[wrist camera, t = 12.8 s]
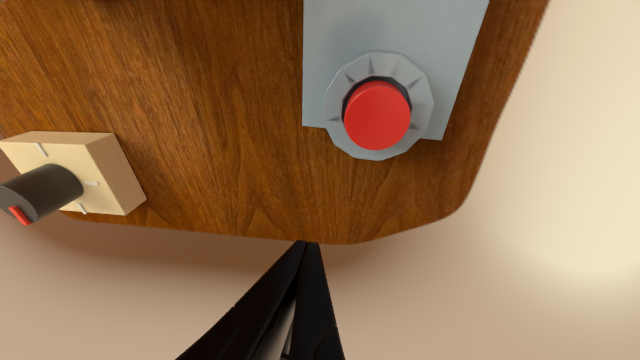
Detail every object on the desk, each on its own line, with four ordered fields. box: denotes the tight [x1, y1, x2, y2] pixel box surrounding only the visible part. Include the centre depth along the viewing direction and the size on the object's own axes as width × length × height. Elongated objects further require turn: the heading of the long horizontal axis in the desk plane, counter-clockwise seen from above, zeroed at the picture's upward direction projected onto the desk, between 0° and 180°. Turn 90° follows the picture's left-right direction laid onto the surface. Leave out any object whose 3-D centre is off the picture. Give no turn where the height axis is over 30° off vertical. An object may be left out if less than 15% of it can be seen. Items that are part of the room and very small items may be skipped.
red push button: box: [344, 81, 411, 150], centre depth 14 cm, size 4×4×2 cm
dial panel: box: [0, 131, 147, 215], centre depth 25 cm, size 10×8×3 cm
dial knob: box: [0, 164, 83, 225], centre depth 22 cm, size 4×4×4 cm
